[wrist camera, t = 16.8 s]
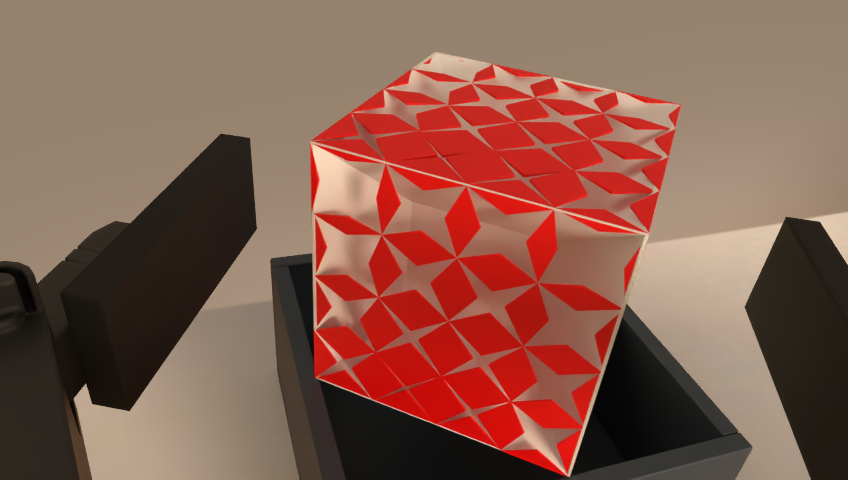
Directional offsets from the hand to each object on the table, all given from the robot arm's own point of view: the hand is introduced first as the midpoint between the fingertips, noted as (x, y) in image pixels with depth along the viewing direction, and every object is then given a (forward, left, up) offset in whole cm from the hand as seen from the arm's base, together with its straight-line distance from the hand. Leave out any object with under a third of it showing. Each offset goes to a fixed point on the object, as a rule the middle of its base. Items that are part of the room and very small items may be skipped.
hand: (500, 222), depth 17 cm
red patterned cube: (-2, 0, -6) cm, 7 cm away
